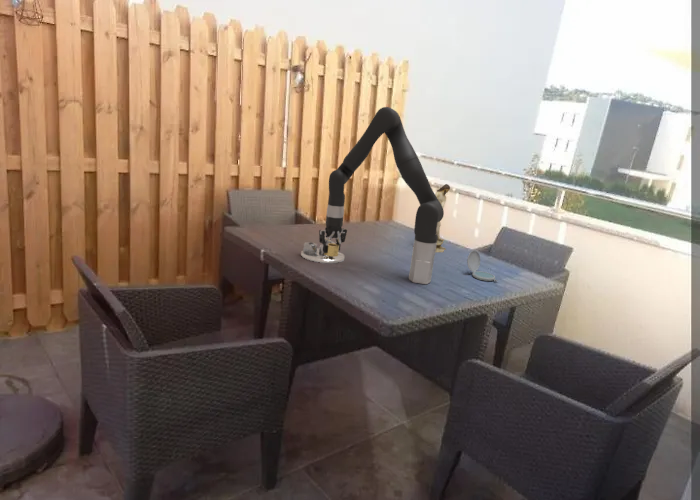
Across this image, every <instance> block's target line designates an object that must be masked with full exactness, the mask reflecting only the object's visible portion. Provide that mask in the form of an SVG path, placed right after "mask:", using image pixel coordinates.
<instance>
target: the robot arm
mask: <svg viewBox="0 0 700 500" xmlns="http://www.w3.org/2000/svg"><path fill="white" fill-rule="evenodd" d="M404 128H405V127H404V126H403V122H402V119H401V117H400V115H399V113H398V112H397V111H396V110H395V109H393V108H391V107H389V106H384V107H381V108H379V109H378V110H377V112H376V113H375V115H374V116H373V118H372V120H371V121H370V123H369V125H368V127H367V128H366V129H365V131H364V132H363V134H362V135H361V137H360V138H359V139H358V141H357V142H356V143H355V145H354V146H353V147H352V148H351V150H350V151H349V152H348V153H347V154H346V156H345V157H344V159H343V161H342V162H341V164H340V165H339V167H338V168H337V169H335V170H332V171H331V173H329V177H328V191H329V192H328V201H327V208H326V215H325V229H319V231H318V234H319V236H318V238H319V239H318V240H319V242H318V243H320V244H321V245H323V252H324V253H327V251H328V243H329V241H332V239H335V243H336V244H338V245H339V252H340V251H341V246H342V245H341V244H342V243H345V241H346V237H347V233H348V230H347V229H345V228H342V227H344V226H343V224H344V215H345V202H346V201H345V199H346V196H345V195H346V194H345V185H346V184H347V182H348V181H349V180H350V179H351V178H352V176H353V175H354V173H355V172H356V170H357V169H358V168H359V167H360V166H361V165H362V164H363V162H364V161H365V160H366V159H367V157H368V156H369V154H370V152H371V150H372V149H373V147H374V145H375V143H376V142H377V141H378V139H379V138H381V136H383V134H385V136H386V137H387V140H388V141H389V144H390V145H391V149H392V153H393V159H394V162H395V165H396V167H397V170H398V172H399V174H400V176H401V178H402V180H403V181H404V183H405V184H406V186H408V187H409V188H410V189H411V191H412V193H413V194H414V195H415V196H416V199H417V201H418V203H419V206H418V207H417V210H416V214H415V219H414V229H413V231H414V232H413V233H414V240H413V241H414V242H413V245H414V246H413V245H412V247H413V248H412V252H411V253H412V255H411V260H410V267H409V273H408V274H409V275H408V280H409V281H410V282H412V283H414V284H415V283H416V284H423V285H428V284H430V283H431V282H432V281H431V280H432V276H433V268H434V262H435V258H436V253H435V251H436V245H437V239H438V236H437V234H436V229H437V223H438V222H440V223H441V221H442V219H443V218H444V213H445V212H444V208H443V207H442V205H441V204H440V202H439V200H438V199H437V197H436V195H435V194H436V193H435V191H434V190H433V189H432V186H431V185H430V181H429V179H428V177H427V174H426V172H425V171H424V167H423V165H422V163H421V161H420V159H419V157H418V155H417V153H416V151H415V149H414V147H413V145H412V144H411V142H410V140H409V138H408V136H407V133H406V132H405V129H404Z"/></svg>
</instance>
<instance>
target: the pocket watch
mask: <svg viewBox="0 0 700 500" xmlns="http://www.w3.org/2000/svg"><path fill="white" fill-rule="evenodd" d="M466 261H467V267H468V269H469V271H471V273H472V277H473V278H474V279H477V280H479V281H484V282H499V280H498V279H496V276H495V275H494V274H492V273H491V272H488V271H482V270H481V271H480V270H479V268H480V265H481V256H480V253H479V252H478V251H477V250H471V251H470V252H469V254H468V255H467V260H466ZM478 270H479V271H478Z"/></svg>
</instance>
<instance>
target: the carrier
mask: <svg viewBox="0 0 700 500" xmlns="http://www.w3.org/2000/svg"><path fill="white" fill-rule="evenodd" d="M329 243H335V244H336V243H337V242H336V241H333V240H330V241H329ZM300 256H302V257H301V258H303V259H304V258H305V259H304V260H306V259H307V260H306V261H309V260H310V261H309V262H312V261H314V262H313V263H318V262H320V264H339V263H342V262H344V261H345V257H346V255H345V254H344V253H342V252H340V251H339V252H338V256H335V257H332V256H327V255H324V252H323V244H320V245H319V247H318V243H315V242H312V241H306V242H303V250H301V251H300ZM338 262H339V263H338Z"/></svg>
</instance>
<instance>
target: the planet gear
mask: <svg viewBox="0 0 700 500" xmlns="http://www.w3.org/2000/svg"><path fill="white" fill-rule="evenodd" d="M335 243H336V242H335ZM335 243H328V251H327V253H324V255H327V256H332V257H335V256H338V252H340V251H339V245H338V244H335Z"/></svg>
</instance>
